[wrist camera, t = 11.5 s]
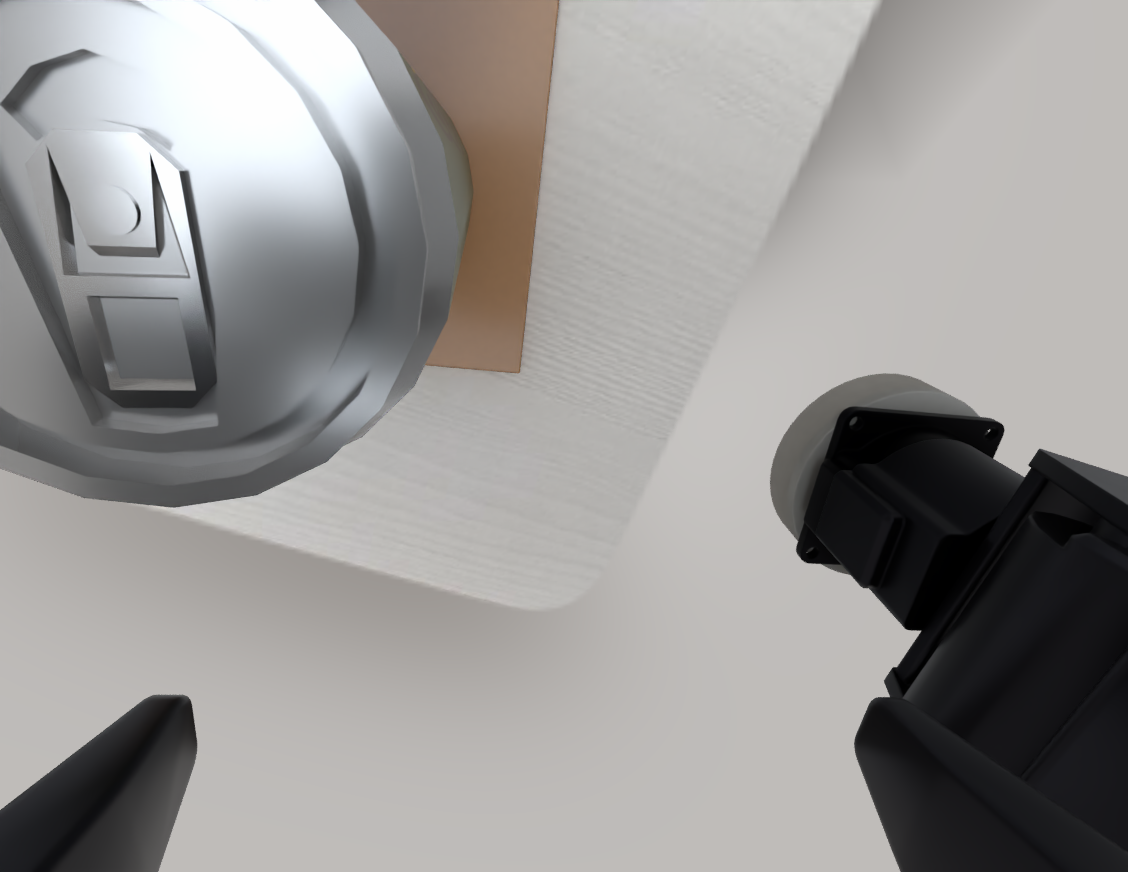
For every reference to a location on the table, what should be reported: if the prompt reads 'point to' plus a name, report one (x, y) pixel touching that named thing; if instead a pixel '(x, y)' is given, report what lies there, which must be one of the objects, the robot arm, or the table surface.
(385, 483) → the table surface
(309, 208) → the green drink can
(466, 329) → the cork mat
